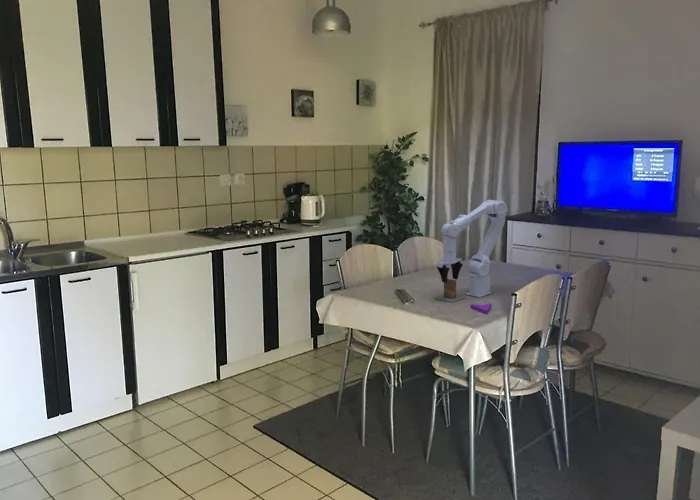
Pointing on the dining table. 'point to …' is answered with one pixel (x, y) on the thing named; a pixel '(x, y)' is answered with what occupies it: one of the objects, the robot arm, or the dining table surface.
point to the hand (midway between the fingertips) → (449, 280)
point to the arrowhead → (482, 308)
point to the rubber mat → (449, 298)
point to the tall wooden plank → (450, 289)
